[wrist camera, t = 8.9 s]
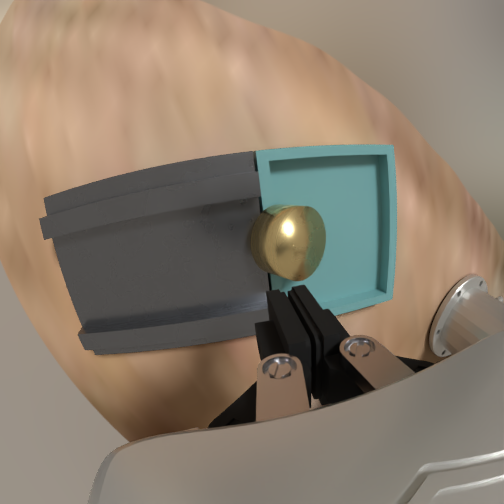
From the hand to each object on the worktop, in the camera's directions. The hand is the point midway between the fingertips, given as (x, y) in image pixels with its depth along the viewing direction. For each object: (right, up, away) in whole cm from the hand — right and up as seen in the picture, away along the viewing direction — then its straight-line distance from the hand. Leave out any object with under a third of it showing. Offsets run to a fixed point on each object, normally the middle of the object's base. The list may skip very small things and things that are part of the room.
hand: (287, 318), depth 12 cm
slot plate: (-9, +2, +9) cm, 13 cm away
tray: (+5, +5, +11) cm, 12 cm away
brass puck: (0, +4, +8) cm, 9 cm away
